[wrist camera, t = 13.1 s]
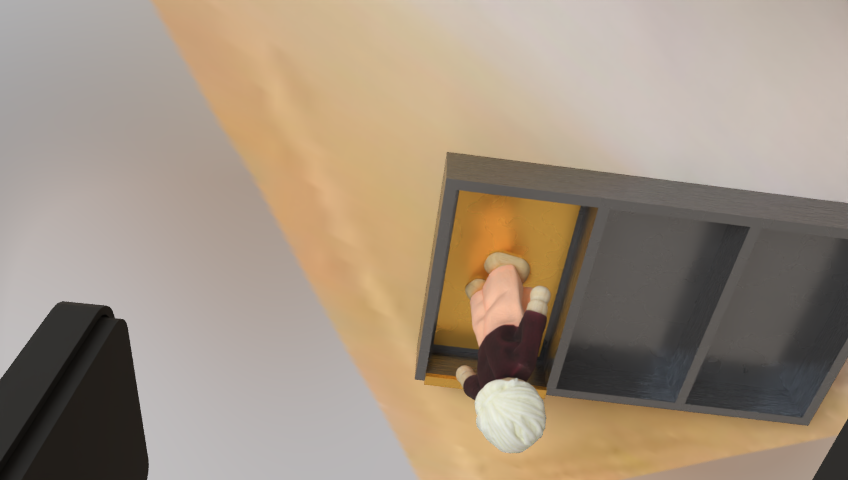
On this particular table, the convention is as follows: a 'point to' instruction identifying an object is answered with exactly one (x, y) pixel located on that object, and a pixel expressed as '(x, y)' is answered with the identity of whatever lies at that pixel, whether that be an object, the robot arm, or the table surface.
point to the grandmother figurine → (506, 353)
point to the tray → (647, 287)
